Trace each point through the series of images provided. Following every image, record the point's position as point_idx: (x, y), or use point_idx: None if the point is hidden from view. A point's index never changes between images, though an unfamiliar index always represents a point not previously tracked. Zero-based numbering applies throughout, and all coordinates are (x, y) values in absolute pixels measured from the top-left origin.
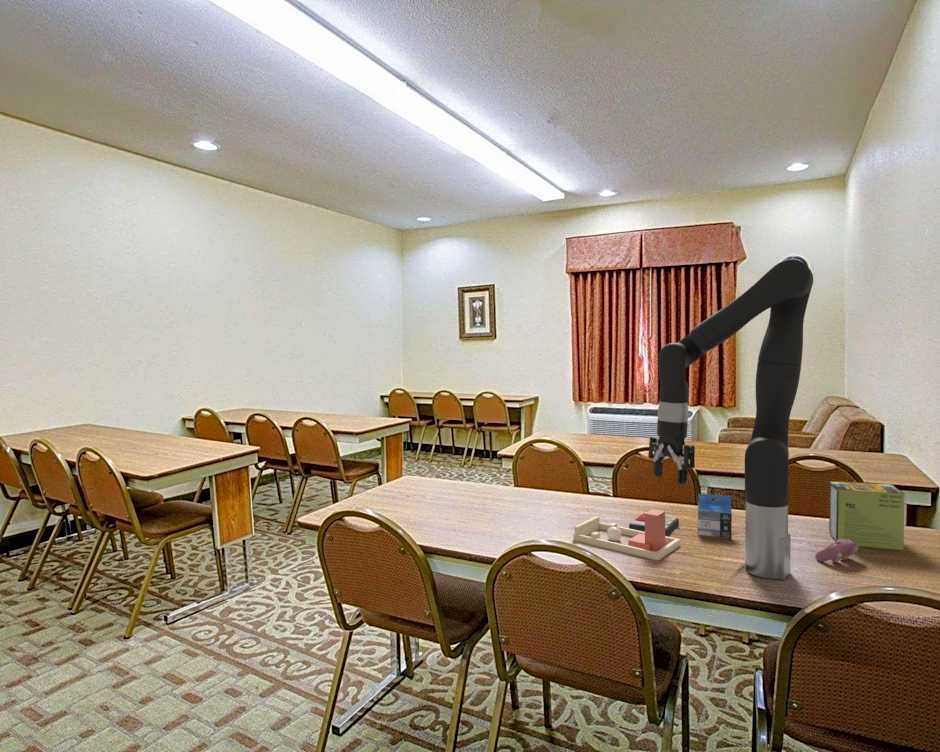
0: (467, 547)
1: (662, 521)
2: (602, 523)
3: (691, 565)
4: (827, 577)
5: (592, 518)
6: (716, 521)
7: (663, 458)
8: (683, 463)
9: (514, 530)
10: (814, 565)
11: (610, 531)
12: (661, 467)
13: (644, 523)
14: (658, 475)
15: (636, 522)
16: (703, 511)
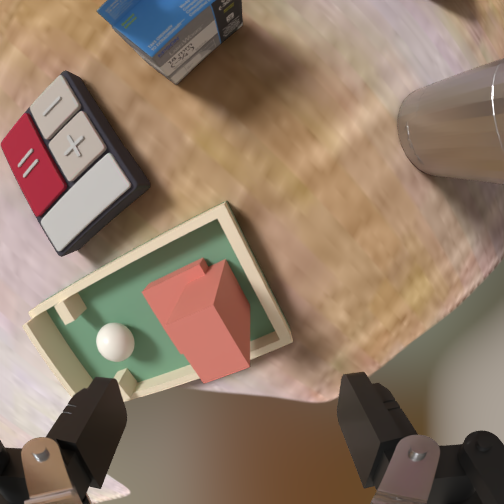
0: (95, 489)
1: (229, 313)
2: (38, 310)
3: (329, 256)
4: (482, 62)
5: (37, 347)
6: (207, 27)
7: (69, 477)
8: (390, 489)
9: (26, 416)
10: (436, 17)
11: (119, 361)
12: (94, 423)
13: (70, 215)
14: (122, 406)
15: (57, 232)
16: (165, 44)
